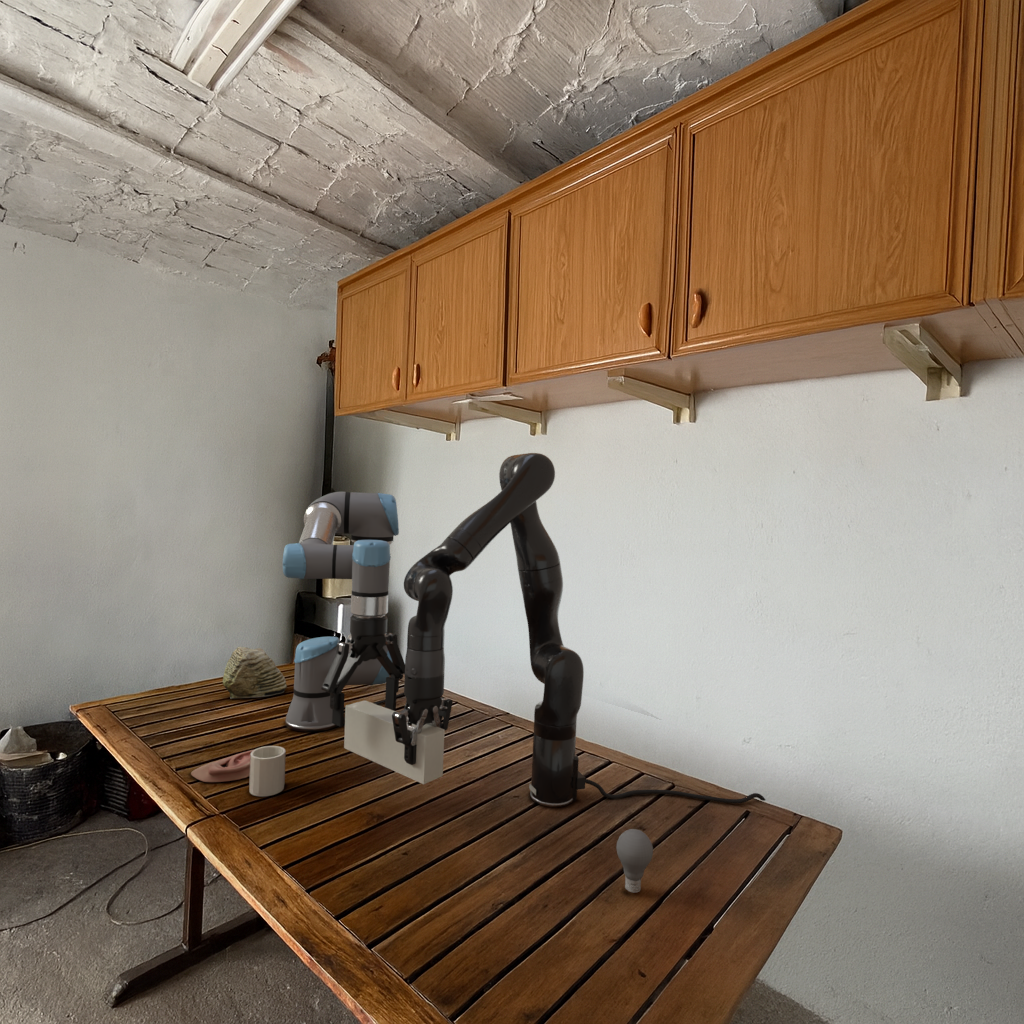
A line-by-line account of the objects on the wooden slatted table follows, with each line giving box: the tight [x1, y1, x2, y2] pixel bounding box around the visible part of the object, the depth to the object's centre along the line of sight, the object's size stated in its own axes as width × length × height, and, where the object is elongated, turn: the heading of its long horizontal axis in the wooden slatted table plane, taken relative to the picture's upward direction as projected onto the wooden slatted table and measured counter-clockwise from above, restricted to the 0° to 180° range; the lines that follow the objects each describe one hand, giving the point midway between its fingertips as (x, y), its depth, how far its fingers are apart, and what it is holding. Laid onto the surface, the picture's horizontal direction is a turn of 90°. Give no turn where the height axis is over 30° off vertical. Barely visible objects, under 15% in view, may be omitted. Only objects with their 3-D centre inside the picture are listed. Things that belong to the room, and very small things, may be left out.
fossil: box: [222, 646, 288, 699], centre depth 198 cm, size 9×18×15 cm, turn 132°
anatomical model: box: [190, 749, 254, 783], centre depth 143 cm, size 13×4×12 cm
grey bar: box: [343, 699, 446, 785], centre depth 126 cm, size 24×5×9 cm, turn 51°
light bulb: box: [615, 828, 654, 894], centre depth 106 cm, size 6×6×10 cm
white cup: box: [248, 745, 287, 797], centre depth 136 cm, size 7×7×8 cm
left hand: (365, 716), depth 132 cm, fingers open, 13 cm apart
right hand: (421, 758), depth 121 cm, fingers closed on grey bar, 5 cm apart
